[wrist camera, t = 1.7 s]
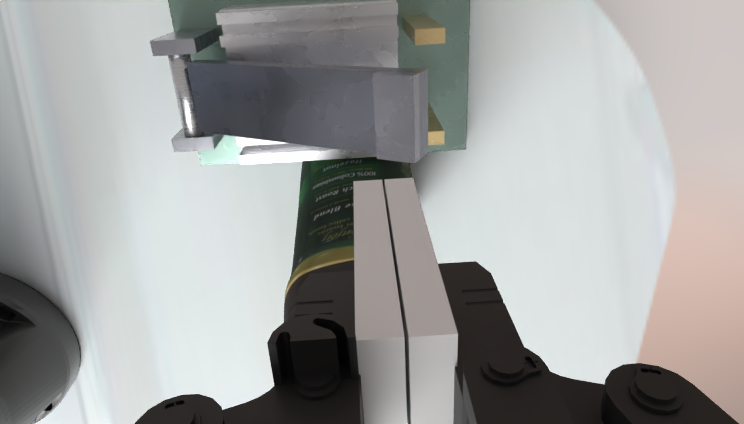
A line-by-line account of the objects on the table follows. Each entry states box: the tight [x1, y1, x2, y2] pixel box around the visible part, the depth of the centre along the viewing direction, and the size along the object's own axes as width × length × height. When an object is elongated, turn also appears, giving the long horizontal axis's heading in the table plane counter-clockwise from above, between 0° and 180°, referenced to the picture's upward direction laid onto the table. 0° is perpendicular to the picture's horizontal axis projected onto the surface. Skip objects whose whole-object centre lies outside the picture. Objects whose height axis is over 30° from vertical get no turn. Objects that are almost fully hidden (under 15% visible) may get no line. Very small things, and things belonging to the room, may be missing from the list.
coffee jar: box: [284, 157, 412, 322], centre depth 33 cm, size 10×8×19 cm
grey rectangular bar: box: [186, 59, 428, 164], centre depth 27 cm, size 14×4×2 cm, turn 93°
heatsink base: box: [150, 0, 470, 165], centre depth 33 cm, size 19×12×8 cm, turn 93°
